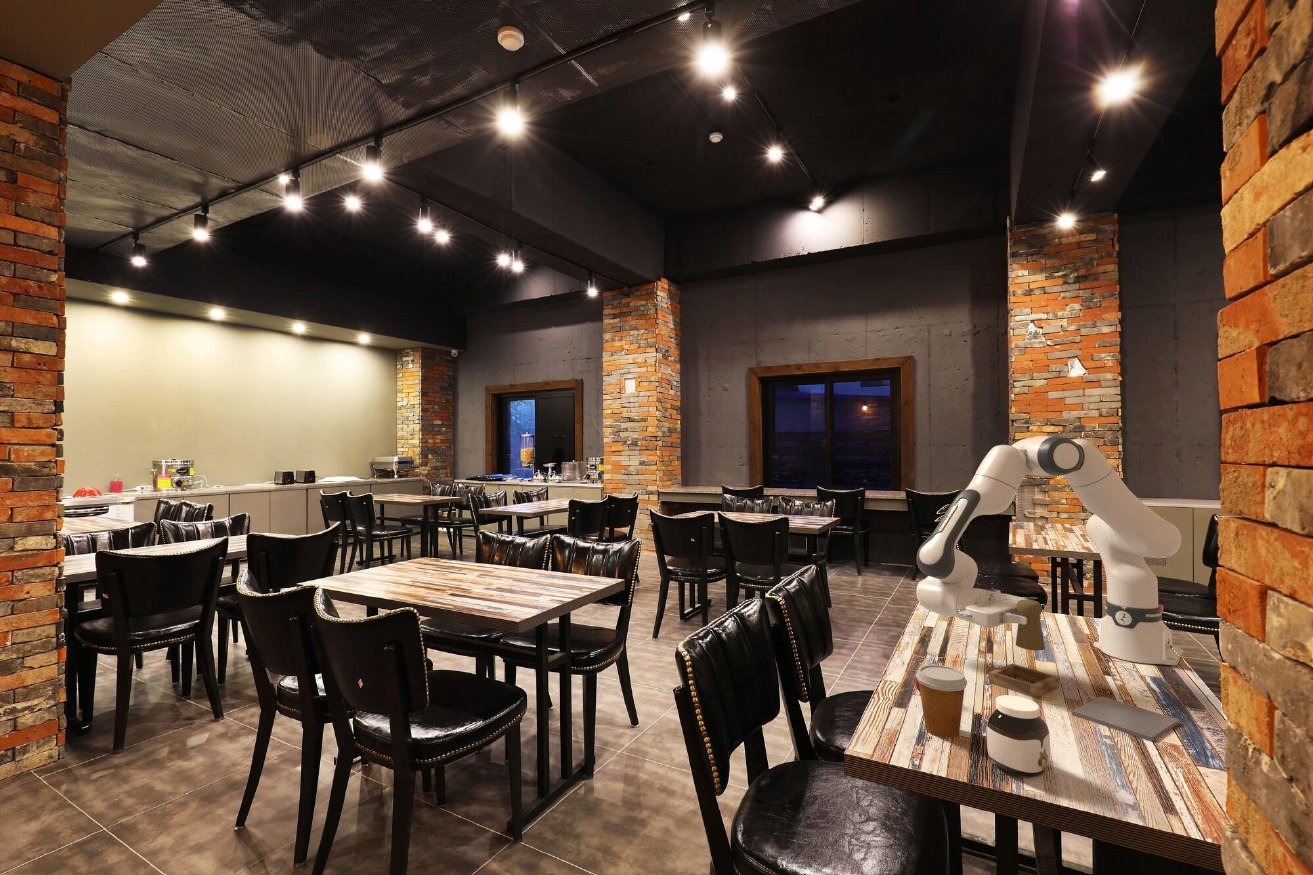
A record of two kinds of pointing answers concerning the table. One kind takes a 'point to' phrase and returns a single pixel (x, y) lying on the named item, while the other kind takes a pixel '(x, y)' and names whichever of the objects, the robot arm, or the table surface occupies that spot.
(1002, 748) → the spread jar
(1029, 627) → the cork
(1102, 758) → the table surface
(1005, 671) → the square wooden frame
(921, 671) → the disposable coffee cup
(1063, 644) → the table surface
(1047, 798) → the table surface
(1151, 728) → the coaster
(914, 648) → the table surface
